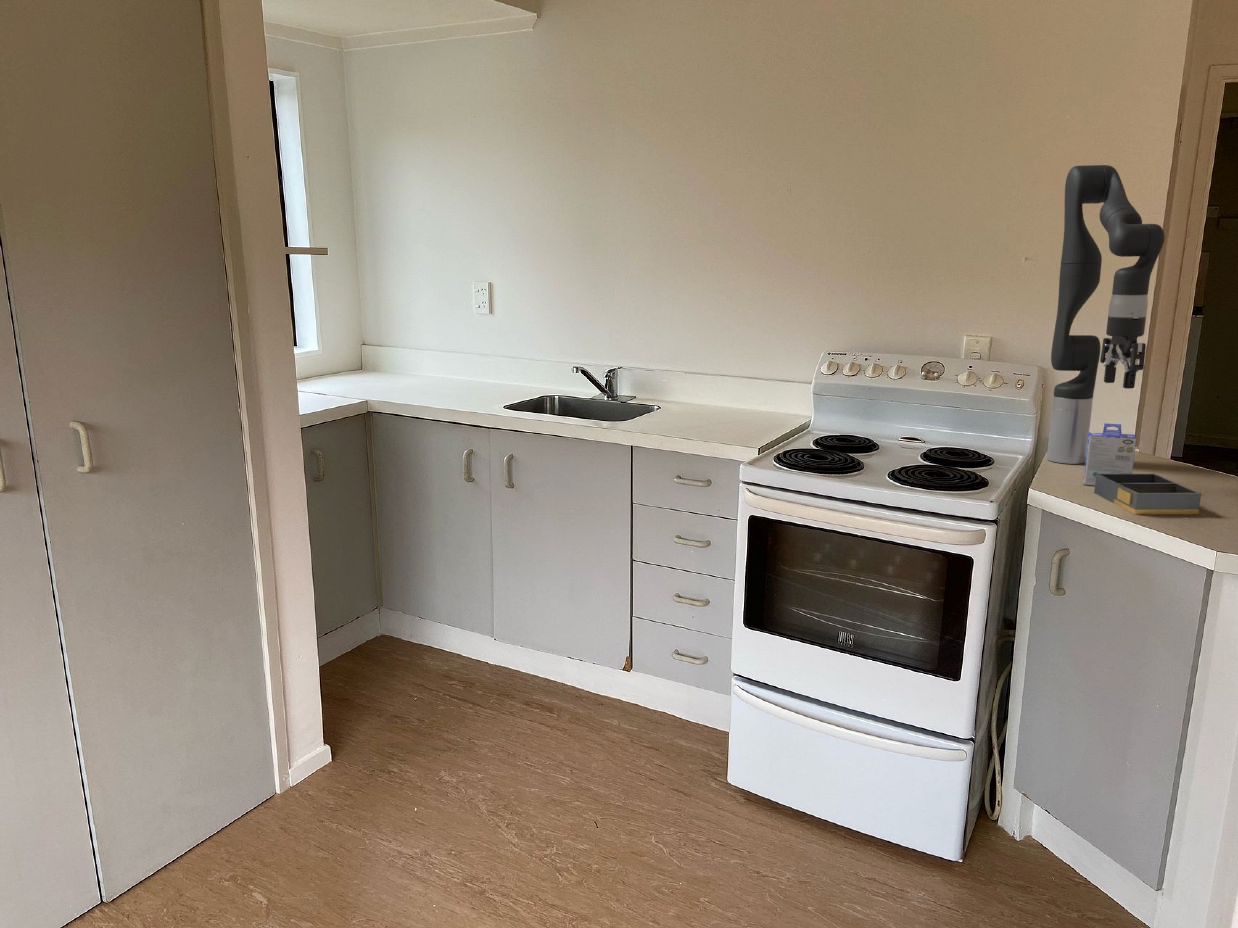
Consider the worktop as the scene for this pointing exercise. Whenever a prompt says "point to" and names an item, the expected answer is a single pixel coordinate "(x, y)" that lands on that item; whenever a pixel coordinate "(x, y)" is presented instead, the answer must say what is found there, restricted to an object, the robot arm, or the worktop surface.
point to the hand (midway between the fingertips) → (1118, 385)
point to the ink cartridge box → (1109, 453)
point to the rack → (1147, 494)
